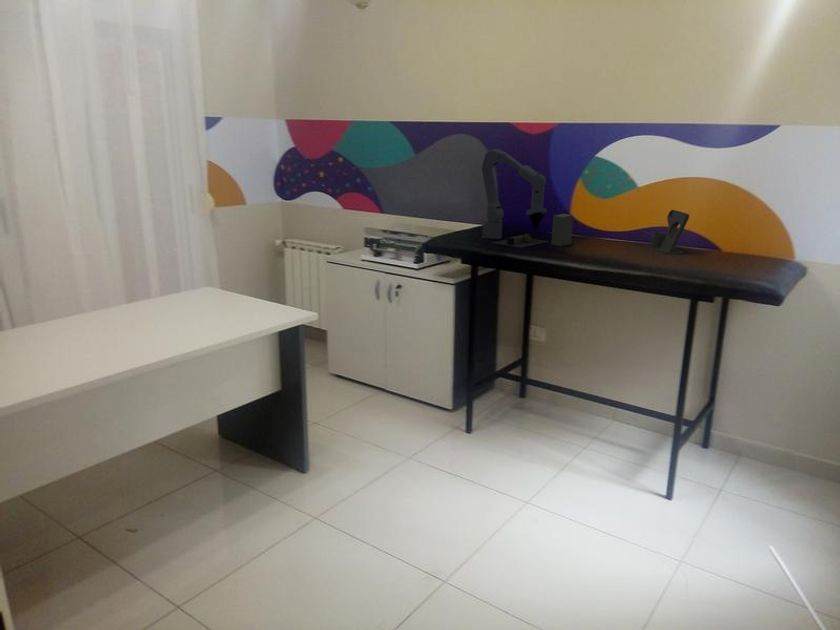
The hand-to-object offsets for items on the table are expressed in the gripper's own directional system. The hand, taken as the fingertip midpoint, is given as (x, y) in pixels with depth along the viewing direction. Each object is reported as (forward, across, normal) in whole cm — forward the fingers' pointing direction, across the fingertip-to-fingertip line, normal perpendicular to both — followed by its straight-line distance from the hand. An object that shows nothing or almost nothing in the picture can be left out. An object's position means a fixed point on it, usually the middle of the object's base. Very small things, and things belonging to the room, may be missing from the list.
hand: (535, 228), depth 298 cm
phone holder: (+7, +27, -55) cm, 61 cm away
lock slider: (+6, -6, 0) cm, 9 cm away
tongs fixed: (+6, -10, +3) cm, 12 cm away
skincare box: (+7, +1, -14) cm, 16 cm away
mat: (+7, -8, +3) cm, 11 cm away
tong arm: (+6, -11, +2) cm, 13 cm away
